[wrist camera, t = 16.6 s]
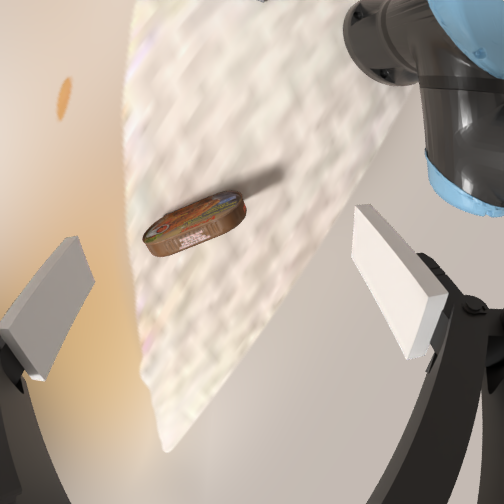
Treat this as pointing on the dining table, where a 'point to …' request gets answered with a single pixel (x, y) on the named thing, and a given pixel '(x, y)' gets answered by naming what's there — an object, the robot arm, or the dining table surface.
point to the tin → (195, 223)
